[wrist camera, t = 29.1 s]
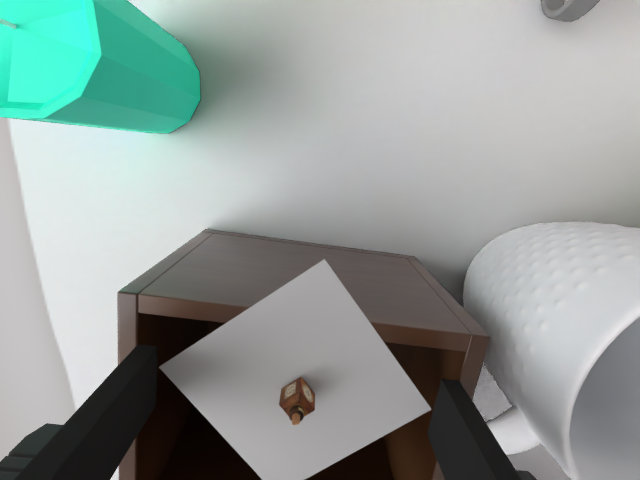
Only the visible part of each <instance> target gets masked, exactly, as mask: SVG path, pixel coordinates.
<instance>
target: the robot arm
mask: <svg viewBox="0 0 640 480" xmlns="http://www.w3.org/2000/svg"><path fill="white" fill-rule="evenodd" d="M157 349H158V346H149V345H140V344H138V345H137V346H136V347H135V348H134V349H133V350H132V351H131V352H130V353H129V354H128V355H127V357H126V358H125V359H124V360H123V361H122V362H121V363H120V364H119V365H118V366H117V367H116V369H115V370H114V371H113V372H112V373H111V374H110V375H109V376H108V377H107V378H106V379H105V381H104V382H103V383H102V384H101V385H100V386H99V387H98V388H97V389H96V390H95V391H94V393H93V394H92V395H91V396H90V397H89V398H88V399H87V400H86V401H85V402H84V403H83V405H82V406H81V407H80V408H79V409H78V410H77V411H76V412H75V413H74V414H73V415H72V417H71V418H70V419H69V420H68V421H67V422H66V423H65V424H64V425H56V424H45V425H44V426H42V427H40V428H39V429H37V430H36V431H34V432H32V433H31V434H29V435H27V436H26V437H25V438H24V439H23V440H22V441H21V442H20V443H19V444H18V445H17V446H16V447H15V448H14V449H13V450H12V451H11V452H10V453H9V455H8V456H6V457H5V458H4V459H3V460H2V461H1V462H0V480H110V479H111V477H112V475H113V474H114V472H115V471H116V469H117V467H118V466H119V464H120V463H121V461H122V459H123V458H124V456H125V455H126V453H127V451H128V450H129V448H130V446H131V445H132V443H133V442H134V440H135V438H136V437H137V435H138V434H139V432H140V430H141V429H142V427H143V426H144V424H145V422H146V421H147V419H148V418H149V416H150V414H151V413H152V411H153V410H154V408H155V406H156V389H157ZM427 436H428V438H429V441H430V443H431V446H432V448H433V451H434V454H435V456H436V459H437V461H438V464H439V466H440V469H441V471H442V474H443V476H444V479H445V480H537V479H536V478H535V477H534V476H532V475H531V474H530V473H529V472H528V471H519V470H515V468H514V467H513V465H512V464H511V462H510V461H509V459H508V457H507V456H506V454H505V453H504V451H503V449H502V448H501V446H500V445H499V443H498V441H497V440H496V438H495V437H494V435H493V433H492V432H491V430H490V429H489V427H488V425H487V424H486V422H485V421H484V419H483V418H482V416H481V414H480V413H479V411H478V410H477V408H476V406H475V405H474V403H473V402H472V400H471V398H470V397H469V395H468V394H467V392H466V390H465V389H464V387H463V386H462V384H461V382H460V381H456V380H447V379H441V382H440V386H439V390H438V394H437V397H436V401H435V405H434V409H433V413H432V416H431V420H430V424H429V428H428V432H427Z"/></svg>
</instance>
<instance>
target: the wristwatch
mask: <svg viewBox="0 0 640 480" xmlns="http://www.w3.org/2000/svg"><path fill="white" fill-rule="evenodd" d="M599 1H600V0H568V1H567V2H566V3H565V4H564V0H541V5H542V10H543V12H544V14H545V15H546V16H547V17H549V18H552V19H556V20H561V21H566V22H572V21H575V20H577V19H579V18H580V17H582V16H583V15H585V14H586V13H587V12H588V11H589V10H591V9H592V8H593V7H594V6H595V5H596V4H597V3H598V2H599Z"/></svg>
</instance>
